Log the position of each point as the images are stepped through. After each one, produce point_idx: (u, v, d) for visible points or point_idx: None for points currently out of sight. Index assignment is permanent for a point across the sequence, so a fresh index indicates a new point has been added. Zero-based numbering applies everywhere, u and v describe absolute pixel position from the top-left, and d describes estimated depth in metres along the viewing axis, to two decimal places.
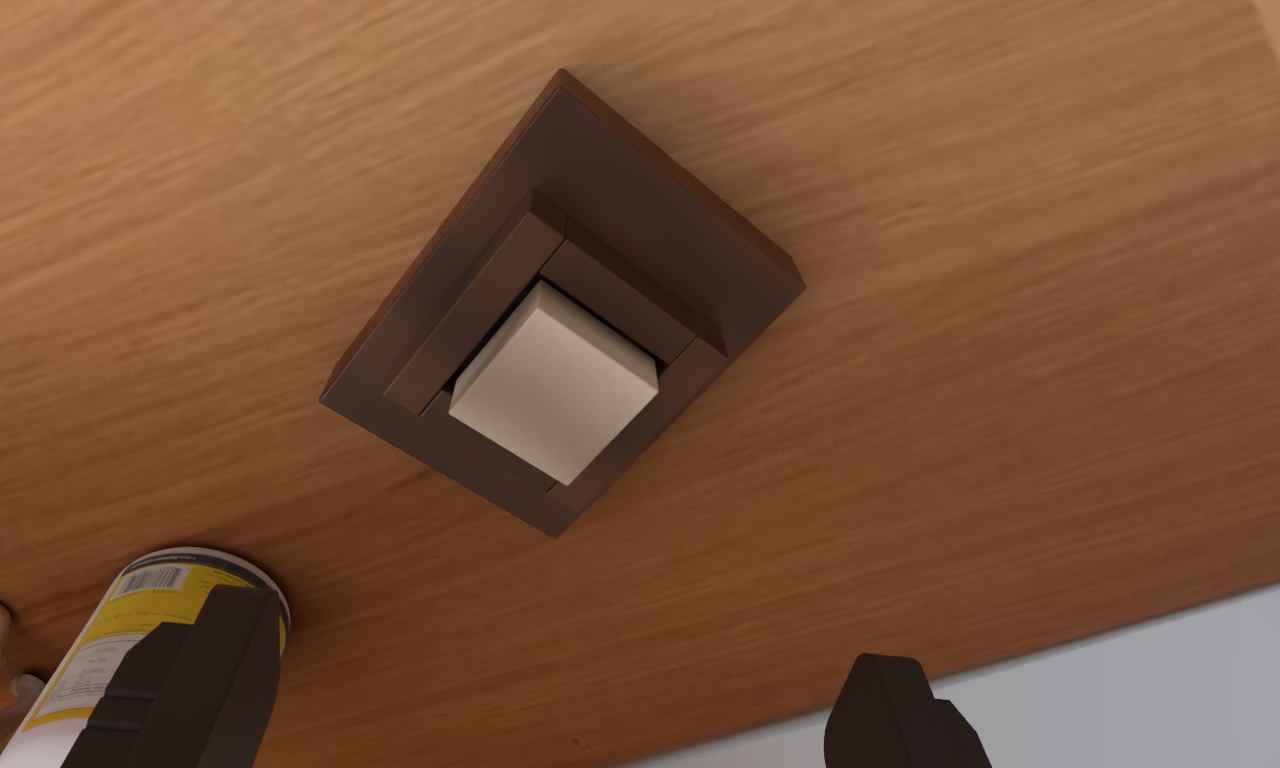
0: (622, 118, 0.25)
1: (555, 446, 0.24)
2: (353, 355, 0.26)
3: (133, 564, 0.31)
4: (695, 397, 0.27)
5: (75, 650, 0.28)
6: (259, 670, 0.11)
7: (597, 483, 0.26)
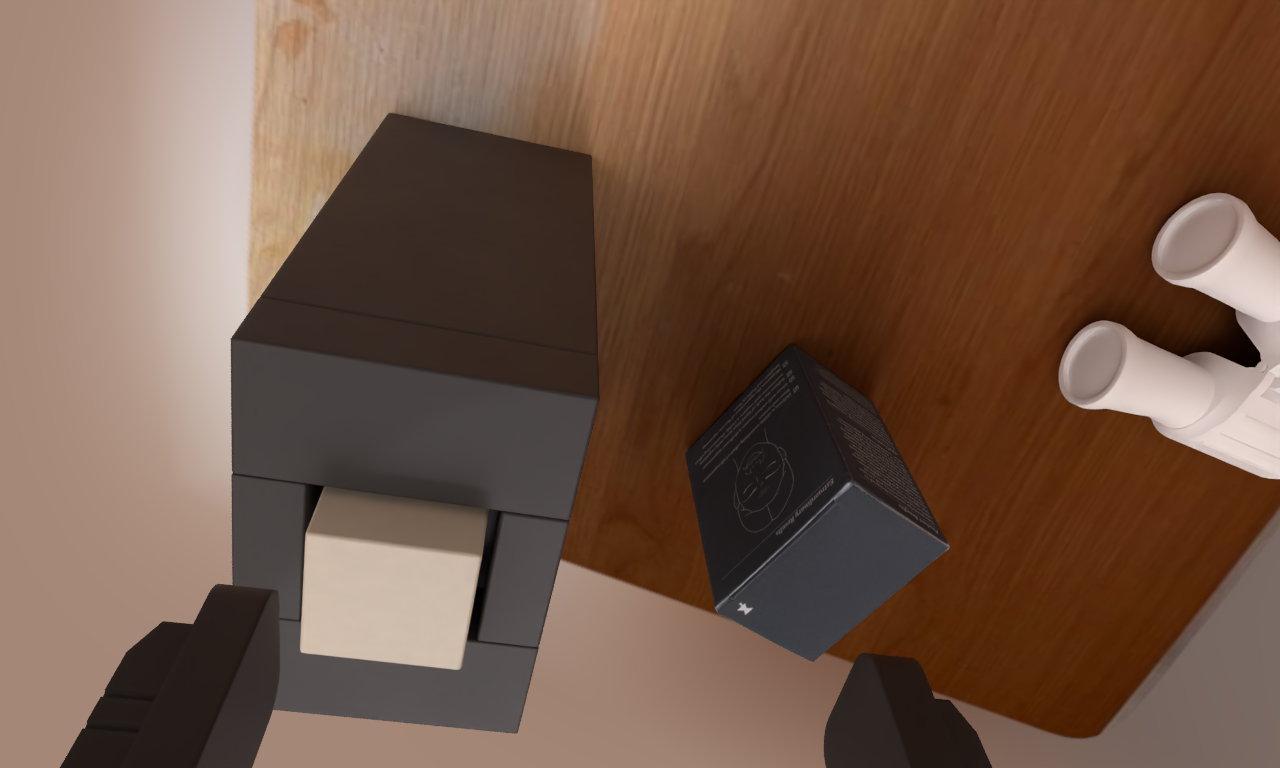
0: None
1: None
2: None
3: None
4: None
5: None
6: (259, 670, 0.11)
7: None
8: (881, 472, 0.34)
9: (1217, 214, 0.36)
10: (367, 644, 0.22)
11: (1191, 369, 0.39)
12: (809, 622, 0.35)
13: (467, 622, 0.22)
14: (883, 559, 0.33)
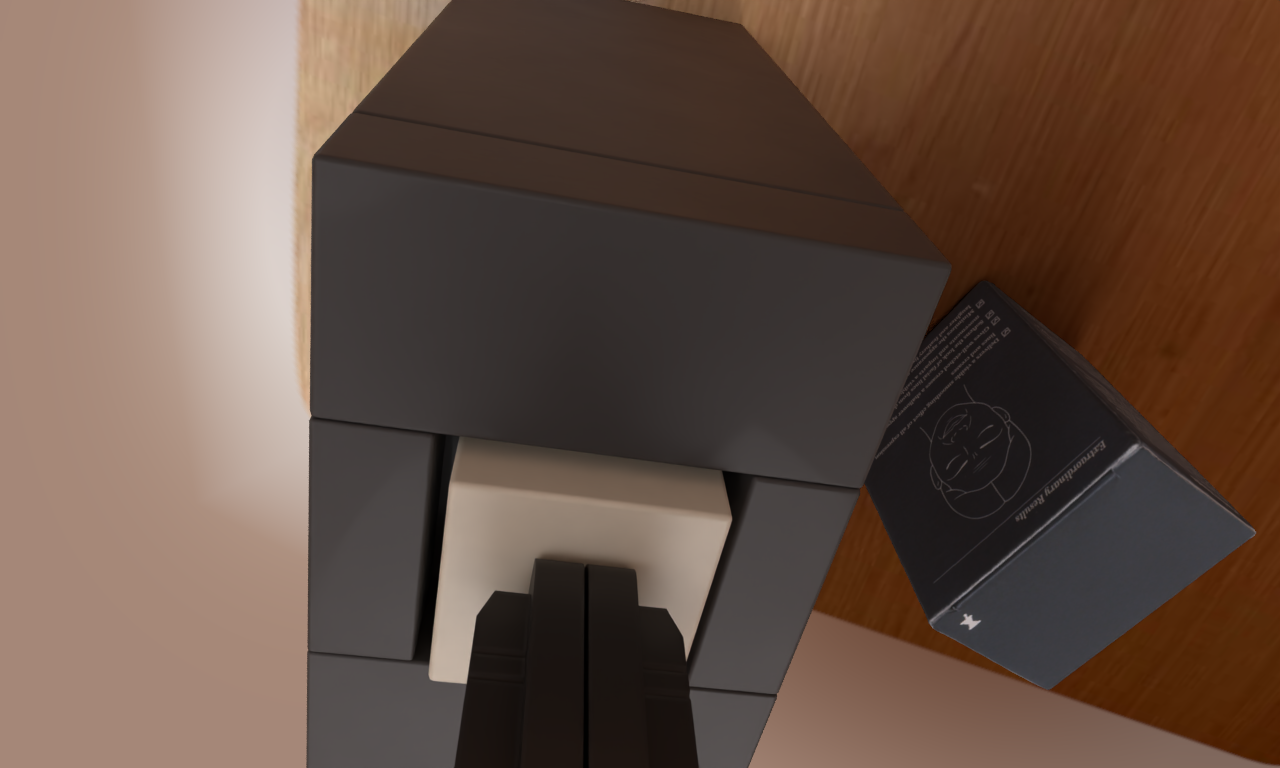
0: None
1: None
2: None
3: None
4: None
5: None
6: None
7: None
8: (1150, 434, 0.25)
9: None
10: None
11: None
12: (1053, 638, 0.26)
13: (694, 627, 0.14)
14: (1166, 551, 0.24)
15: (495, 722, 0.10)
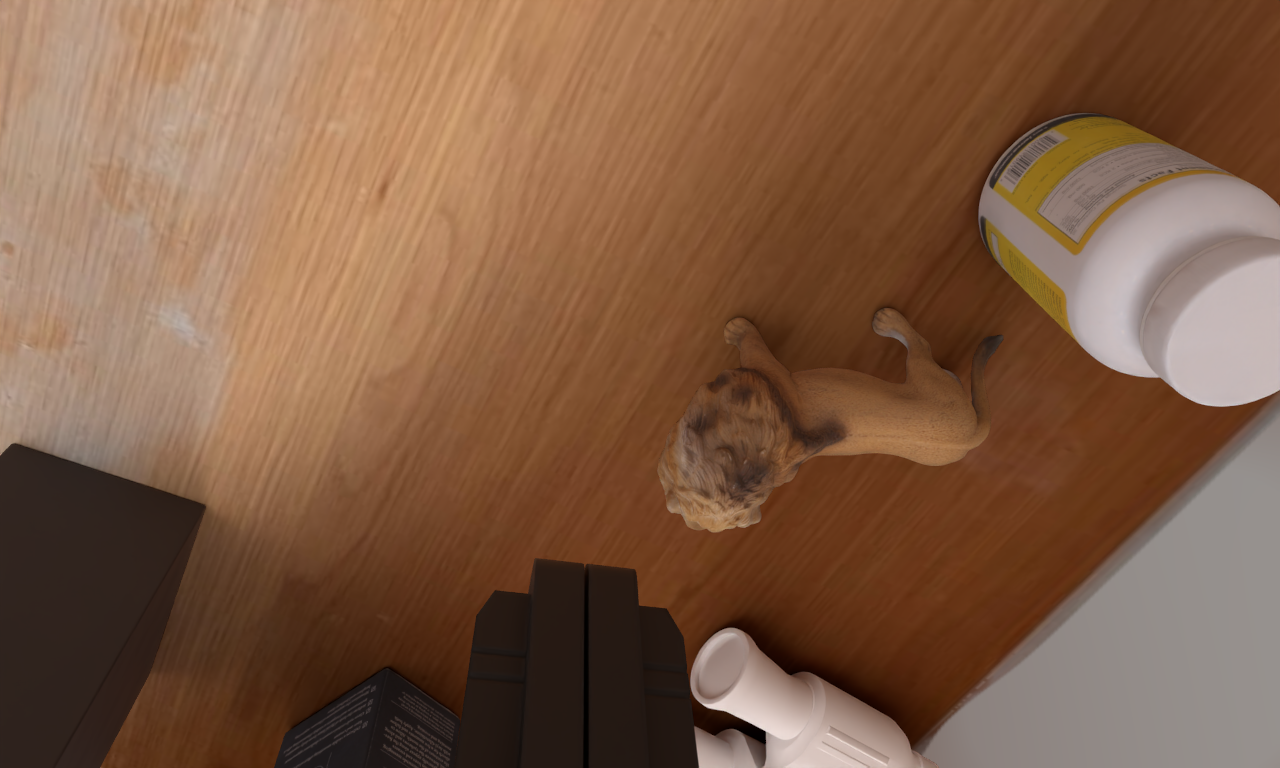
0: None
1: None
2: None
3: (992, 175, 0.32)
4: None
5: (1035, 218, 0.29)
6: None
7: None
8: None
9: (737, 651, 0.43)
10: None
11: (715, 756, 0.46)
12: None
13: None
14: None
15: (495, 722, 0.10)
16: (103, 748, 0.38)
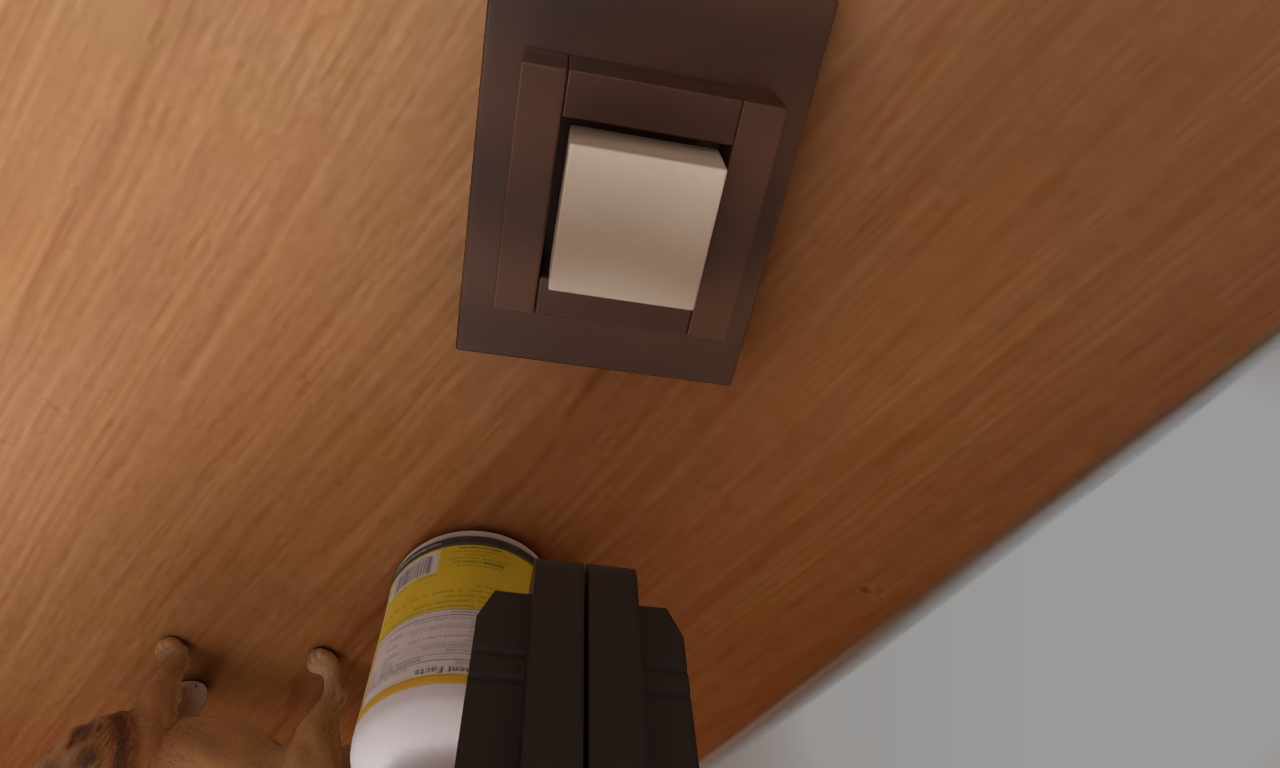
0: None
1: (660, 275, 0.23)
2: (461, 291, 0.27)
3: (398, 570, 0.34)
4: (787, 176, 0.25)
5: (376, 650, 0.31)
6: None
7: (728, 301, 0.25)
8: None
9: None
10: None
11: None
12: None
13: None
14: None
15: (495, 722, 0.10)
16: None
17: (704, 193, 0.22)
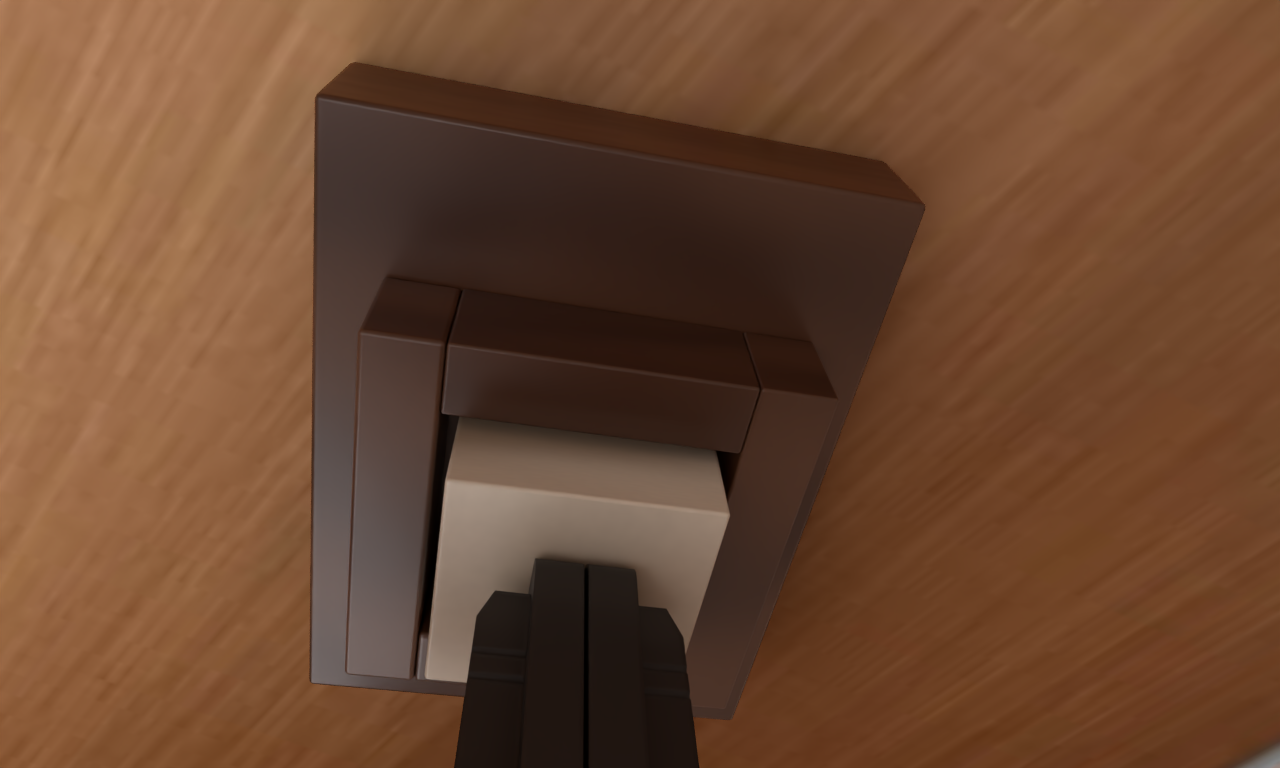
0: (486, 88, 0.14)
1: None
2: (311, 612, 0.17)
3: None
4: (827, 458, 0.16)
5: None
6: None
7: (731, 660, 0.16)
8: None
9: None
10: None
11: None
12: None
13: None
14: None
15: (495, 722, 0.10)
16: None
17: (689, 548, 0.13)
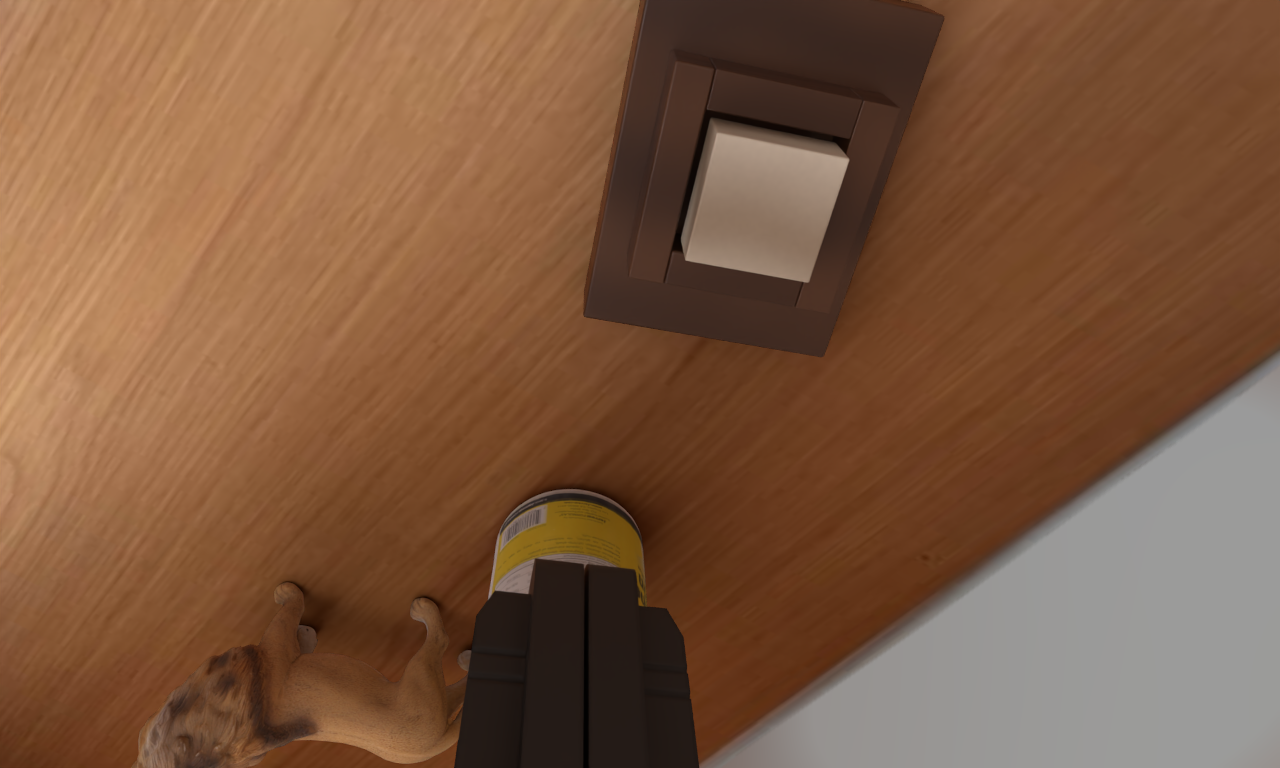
0: None
1: (783, 250, 0.27)
2: (594, 264, 0.30)
3: (504, 523, 0.38)
4: (889, 169, 0.29)
5: (493, 590, 0.34)
6: None
7: (834, 277, 0.29)
8: None
9: None
10: None
11: None
12: None
13: None
14: None
15: (495, 722, 0.10)
16: None
17: (828, 179, 0.26)
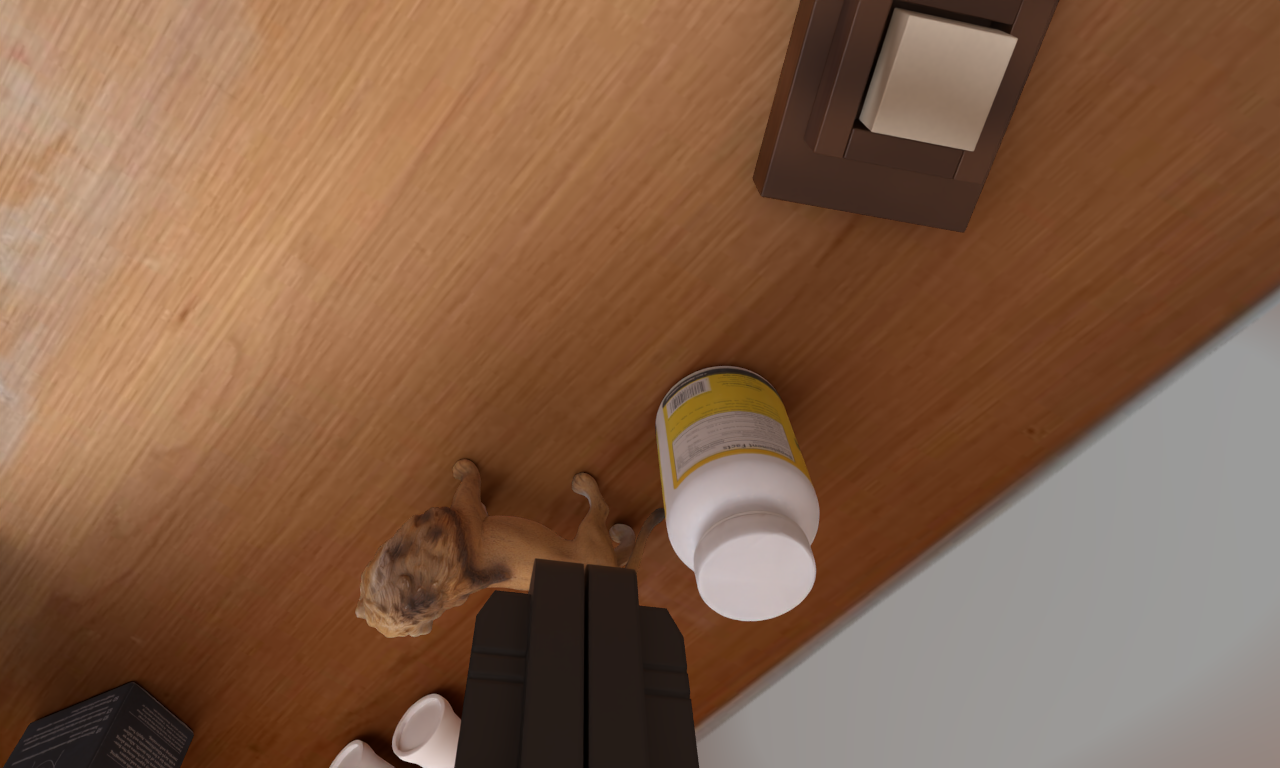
0: None
1: (955, 121, 0.32)
2: (774, 147, 0.35)
3: (666, 397, 0.42)
4: (1034, 57, 0.34)
5: (669, 447, 0.39)
6: None
7: (989, 151, 0.34)
8: None
9: (435, 716, 0.51)
10: None
11: None
12: None
13: None
14: None
15: (495, 722, 0.10)
16: None
17: (998, 56, 0.30)
